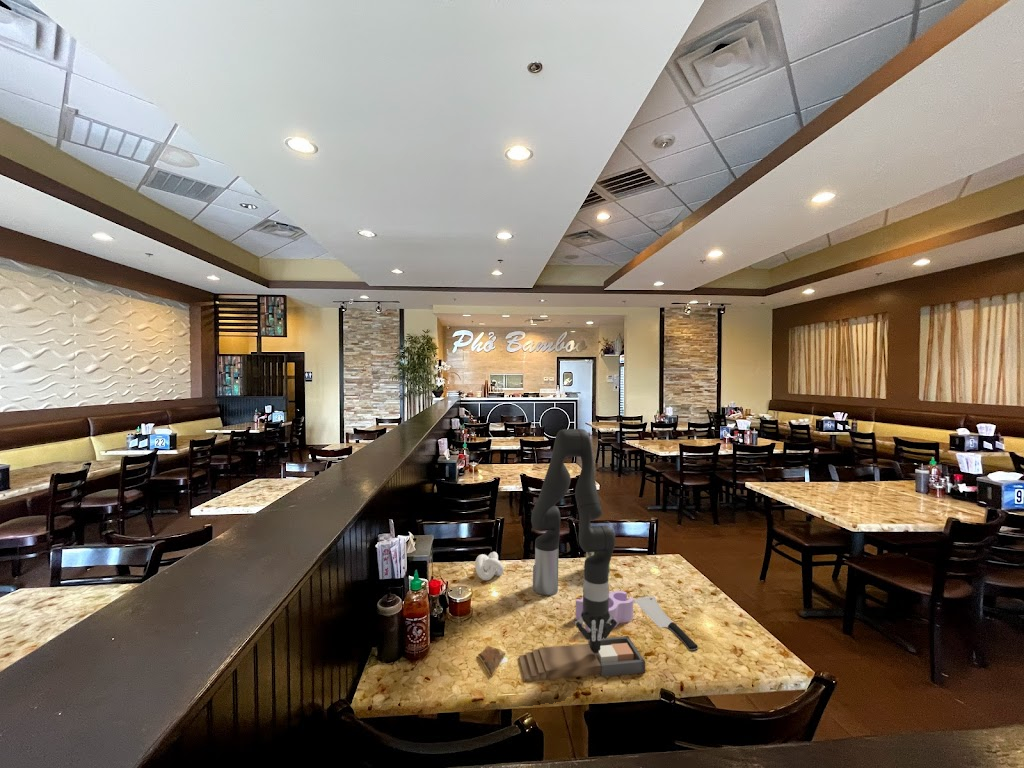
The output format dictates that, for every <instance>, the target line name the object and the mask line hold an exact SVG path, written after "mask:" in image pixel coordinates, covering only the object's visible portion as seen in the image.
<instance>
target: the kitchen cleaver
mask: <svg viewBox="0 0 1024 768" xmlns="http://www.w3.org/2000/svg"><path fill="white" fill-rule="evenodd" d="M633 602H634V603H636V604H637V606H639V608H640V609H641V610H642V611H643V612H644V613H645V614H646V615H647V616H648V617H649V618H650V619H651V620H652V622H654V624H655V625H656V626H657V627H658V628H659V629H663V628H664V629H666V628H667V629H669V630H670V631H671V632H673V633H674V634H675V636H677V638H679V640H680V641H682V643H683V644H684V645H685V646H686V648H687V649H688V650H689V651H692V652H694V651H697V650H698V648H699V646H698V644H696V643H695V642H694V640H692V638H691V637H690V636H688V634H687V633H685V632H684V630H682V629H681V628H680V627H679V626H678V625H677V624H676V623H675V622H674V621H673V620H672V619H671V618H670V617H669V616H668V615H667V614H666V613H665V611H664V610H663V609H662V608H661V606H660V604H659V602H658V601H657V597H656V596H654V595H650V596H644V597H638V598H633Z"/></svg>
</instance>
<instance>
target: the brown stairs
mask: <svg viewBox="0 0 1024 768" xmlns="http://www.w3.org/2000/svg"><path fill="white" fill-rule="evenodd" d="M518 658H519V664H520V666H521V671H522V675H523V679H524V682H533V681H535V682H536V681H545V680H547V679H546V670H545V667H544V664H543V661H542V658H541V655H540V652H539V648H537V649H532V651H530V652H529V651H528V652H525V654H521V655H518Z"/></svg>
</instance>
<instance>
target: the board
mask: <svg viewBox="0 0 1024 768" xmlns="http://www.w3.org/2000/svg"><path fill="white" fill-rule="evenodd" d="M538 649H539V652H540V655H541V658H542V661H543V664H544V667H545V670H546V679H545V680H553V679H567V678H574V677H575V678H578V677H586V676H596V675H597V676H599V675H601V665H600V663H599V661H598V659H597V657H596V655H595V653H593V651H591V649H590V644H588V643H581V644H570V645H558V646H544V647H538Z"/></svg>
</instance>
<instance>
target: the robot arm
mask: <svg viewBox="0 0 1024 768" xmlns="http://www.w3.org/2000/svg"><path fill="white" fill-rule="evenodd" d="M591 441H592V440H591V437H590V435H589V432H588V430H586V429H582V428H568V429H567V428H564V429H560V430H559V431H558V432H557V433H556V435H555V439H554V442H553V448H552V454H551V459H550V462H549V464H548V468H547V471H546V474H545V477H544V479H543V483H542V487H541V490H540V493H539V496H538V498H537V500H536V501H535V504H534V506H533V509H532V511H531V518H530V523H531V525H532V528H533V529H534V530H536V531H537V532H542V531H545V532H544V533H543V534H541V535H539V536H537V537H536V538H535V542H534V543H535V544H534V564H533V565H532V591H535V592H536V593H537V594H540V595H544V596H552V595H555V594H557V593H558V592H559V551H560V550H559V546H560V535H561V534H560V533H561V513H560V512H561V511H560V509H559V507H558V506H557V505H556V504H558V503H559V502H560V501H562V500H563V499H564V498H565V496H566V495H567V493H568V490H569V488H570V485H571V480H572V479H571V475H570V473H569V471H568V469H567V467H566V464H565V463H564V461H565V459H566V458H575V457H576V458H577V457H579V458H580V460H581V470H580V474H579V477H578V479H577V482H576V484H575V489H574V497H575V502H576V507H577V511H578V518H579V519H578V520H579V521H578V525H579V526H578V543H579V547H580V548H581V549H582V551H583V552H585V553H586V552H597V553H596V554H595V555H593V556H590V557H588V558H587V559H586V558H585V560H584V564H583V565H584V566H583V567H584V568H583V569H584V570H583V572H584V573H583V576H584V577H583V584H582V585H583V586H582V596H583V612H582V614H581V618H579V619H578V620H577V619H576V618H575V619H574V621H573V622H574V625H575V626H576V628H577V629H578V630H579V632H580V633H581V634H582V635H583V637H584V638H585V639H586V640H589V639H590V649H591V651H593V653H598V652H599V651H600V641H601V639H602V638H608V637H609V635H610V634H611V632H612V631H613V630H614V629H615V628H614V627H615V626H616V624H617V622H616V620H615V619H614V617H611V616H610V614H609V593H610V583H609V575H608V567H609V563H611V560H612V557H613V552H614V550H615V546H616V535H615V532H614V530H613V529H612V528H611V527H610V526H608V525H597V526H596V525H593V526H591V521H595V520H597V519H599V518H601V516H602V515H603V510H602V506H601V502H600V497H599V493H598V488H597V485H596V477H595V475H596V474H595V466H594V455H593V447H592V446H593V445H592V442H591ZM585 623H586V625H587V626H588V628H589V631H586V630H585ZM604 625H605V626H604ZM616 627H617V626H616ZM613 628H614V629H613Z"/></svg>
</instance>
